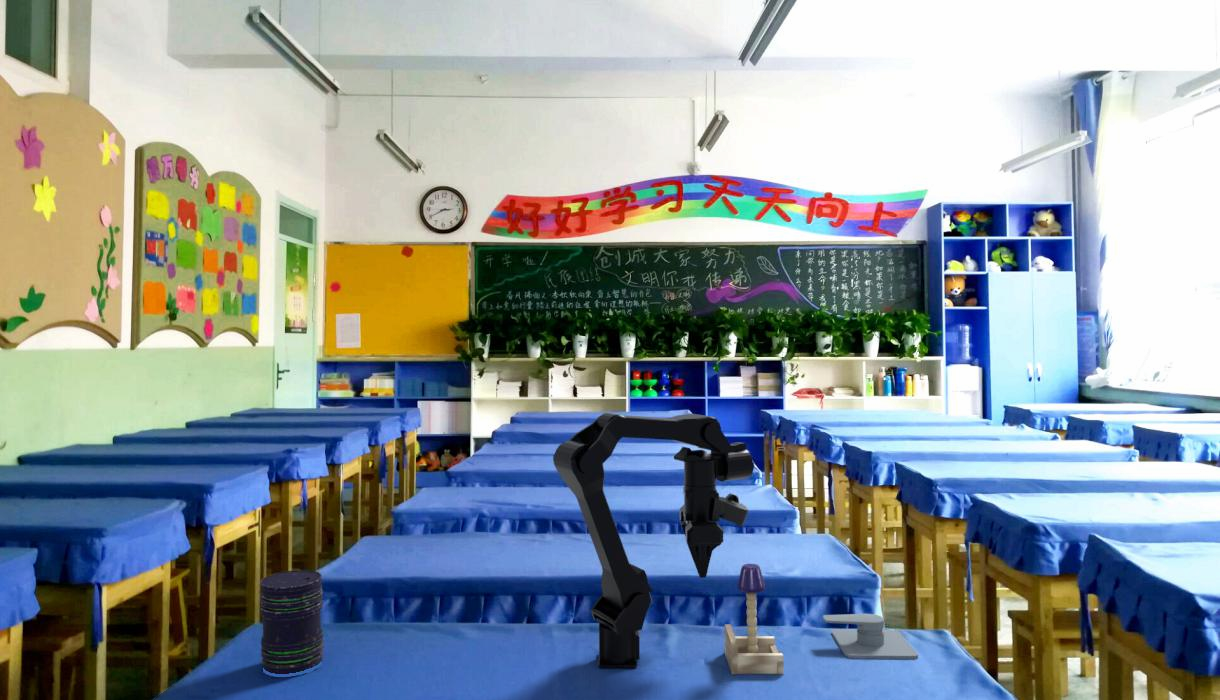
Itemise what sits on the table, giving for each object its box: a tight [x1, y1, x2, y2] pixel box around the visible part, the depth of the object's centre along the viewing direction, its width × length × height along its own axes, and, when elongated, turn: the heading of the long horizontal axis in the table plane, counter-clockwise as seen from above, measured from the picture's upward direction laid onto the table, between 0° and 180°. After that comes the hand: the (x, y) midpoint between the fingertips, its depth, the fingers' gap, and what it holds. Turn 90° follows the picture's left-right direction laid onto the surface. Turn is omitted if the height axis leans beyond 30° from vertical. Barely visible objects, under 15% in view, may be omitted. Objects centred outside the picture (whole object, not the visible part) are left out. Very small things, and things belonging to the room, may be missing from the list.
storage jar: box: [259, 569, 324, 674], centre depth 141 cm, size 10×10×15 cm
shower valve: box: [822, 613, 919, 660], centre depth 149 cm, size 12×6×15 cm
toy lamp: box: [736, 563, 766, 653], centre depth 141 cm, size 5×5×17 cm
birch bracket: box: [724, 623, 785, 675], centre depth 141 cm, size 8×9×5 cm
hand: (700, 569), depth 151 cm, fingers open, 9 cm apart
